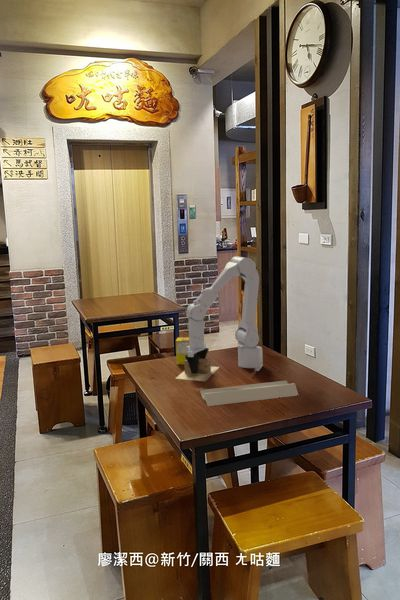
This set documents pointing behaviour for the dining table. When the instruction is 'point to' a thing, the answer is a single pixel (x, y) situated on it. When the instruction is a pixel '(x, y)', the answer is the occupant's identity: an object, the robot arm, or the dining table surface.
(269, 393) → the crown molding
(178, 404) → the dining table surface
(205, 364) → the block
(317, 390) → the dining table surface
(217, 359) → the dining table surface
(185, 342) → the supplement box
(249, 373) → the dining table surface
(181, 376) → the birch board
